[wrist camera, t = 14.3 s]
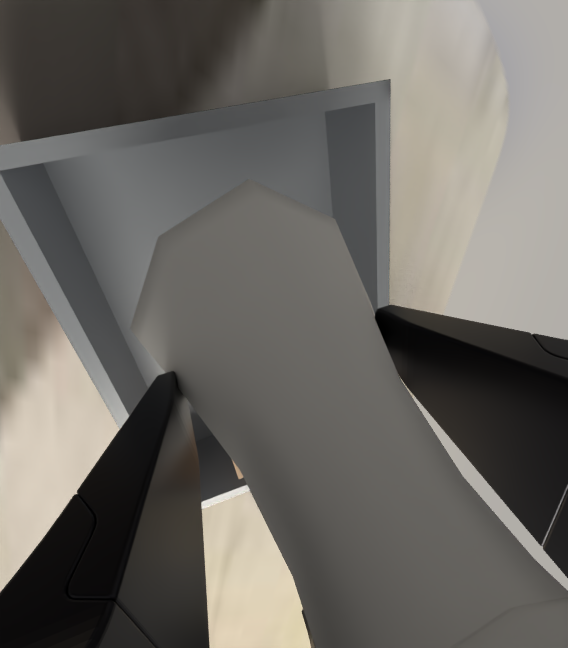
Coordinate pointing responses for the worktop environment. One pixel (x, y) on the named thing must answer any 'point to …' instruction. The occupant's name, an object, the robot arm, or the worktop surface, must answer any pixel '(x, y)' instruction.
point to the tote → (177, 205)
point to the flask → (334, 435)
